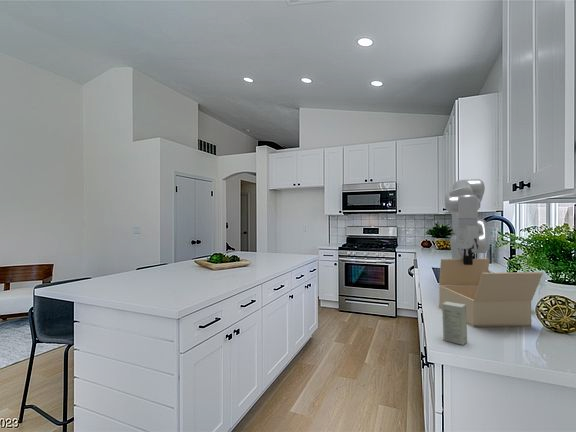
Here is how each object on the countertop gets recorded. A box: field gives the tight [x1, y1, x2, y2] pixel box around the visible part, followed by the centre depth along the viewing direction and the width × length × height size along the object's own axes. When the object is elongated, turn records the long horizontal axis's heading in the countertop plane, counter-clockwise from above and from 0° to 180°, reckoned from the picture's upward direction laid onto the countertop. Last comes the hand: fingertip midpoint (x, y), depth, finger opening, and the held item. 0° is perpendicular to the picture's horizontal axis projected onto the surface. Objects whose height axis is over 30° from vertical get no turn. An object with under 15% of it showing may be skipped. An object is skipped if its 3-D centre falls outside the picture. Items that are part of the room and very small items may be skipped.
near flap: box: [438, 258, 490, 286], centre depth 136 cm, size 12×22×1 cm
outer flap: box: [474, 271, 544, 302], centre depth 110 cm, size 12×22×1 cm
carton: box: [438, 285, 532, 328], centre depth 124 cm, size 24×22×10 cm
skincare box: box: [442, 302, 468, 346], centre depth 100 cm, size 6×4×12 cm
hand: (467, 264), depth 133 cm, fingers closed
